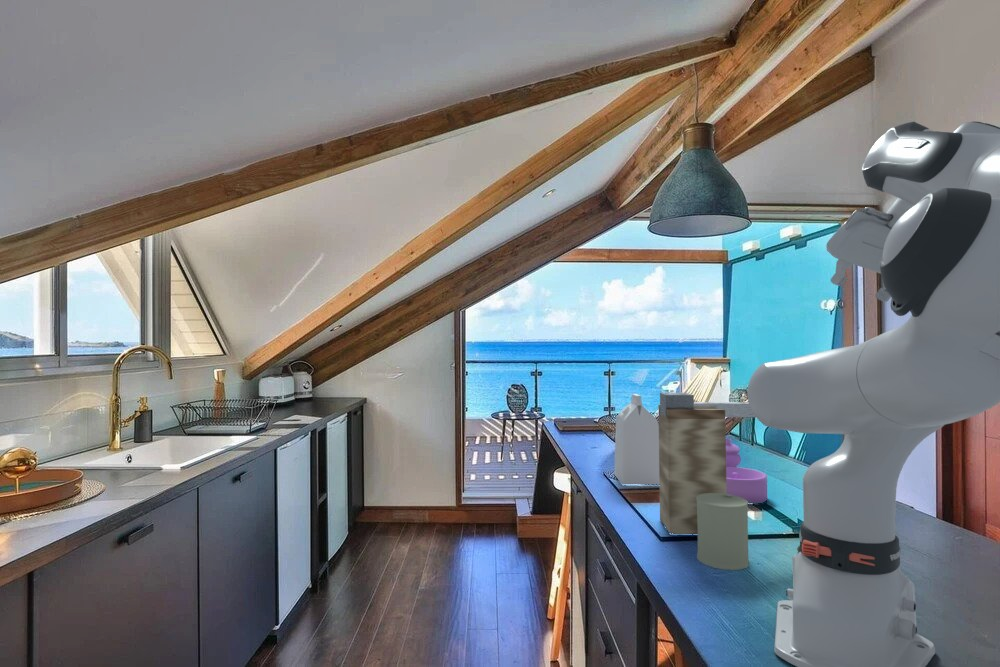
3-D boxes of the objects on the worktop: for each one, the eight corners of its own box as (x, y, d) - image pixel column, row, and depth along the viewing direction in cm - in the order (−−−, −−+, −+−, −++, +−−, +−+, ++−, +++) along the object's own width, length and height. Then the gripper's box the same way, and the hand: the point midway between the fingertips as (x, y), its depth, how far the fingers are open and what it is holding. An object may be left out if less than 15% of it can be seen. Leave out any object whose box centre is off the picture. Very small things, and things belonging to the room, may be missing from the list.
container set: (773, 507, 134) (772, 454, 134) (709, 502, 138) (708, 452, 138) (753, 482, 158) (752, 438, 159) (699, 479, 162) (698, 436, 163)
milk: (662, 486, 154) (661, 396, 155) (622, 486, 155) (621, 396, 155) (651, 476, 166) (650, 393, 167) (614, 476, 167) (613, 393, 167)
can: (756, 559, 101) (755, 496, 101) (739, 575, 94) (738, 507, 95) (708, 547, 107) (707, 487, 108) (688, 561, 101) (688, 497, 101)
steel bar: (758, 414, 121) (758, 392, 121) (769, 418, 115) (769, 395, 115) (660, 414, 123) (659, 392, 123) (665, 417, 117) (665, 394, 117)
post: (712, 521, 123) (710, 404, 124) (727, 536, 113) (725, 409, 114) (660, 520, 124) (658, 404, 125) (669, 535, 114) (667, 409, 115)
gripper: (870, 210, 84) (815, 282, 92) (977, 249, 87) (915, 316, 95) (851, 196, 89) (800, 266, 97) (952, 234, 92) (895, 298, 100)
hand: (857, 291), depth 96 cm, fingers open, 8 cm apart
